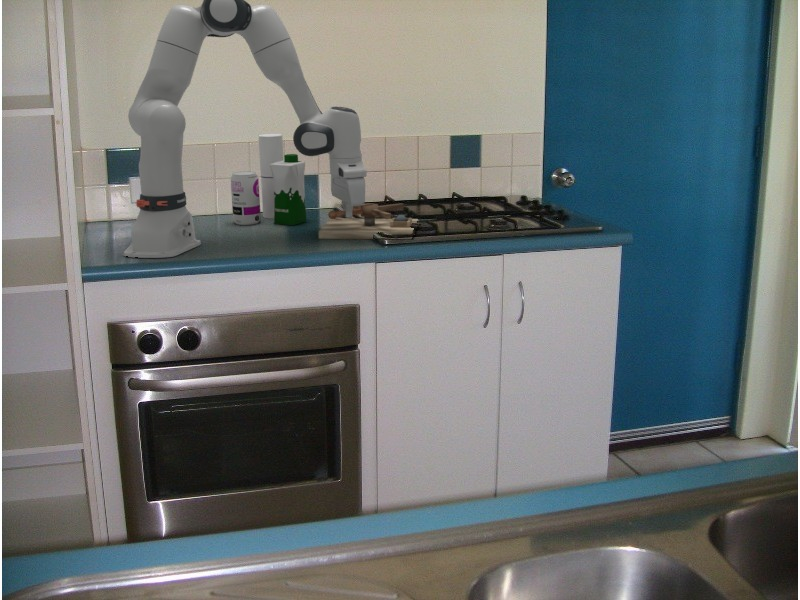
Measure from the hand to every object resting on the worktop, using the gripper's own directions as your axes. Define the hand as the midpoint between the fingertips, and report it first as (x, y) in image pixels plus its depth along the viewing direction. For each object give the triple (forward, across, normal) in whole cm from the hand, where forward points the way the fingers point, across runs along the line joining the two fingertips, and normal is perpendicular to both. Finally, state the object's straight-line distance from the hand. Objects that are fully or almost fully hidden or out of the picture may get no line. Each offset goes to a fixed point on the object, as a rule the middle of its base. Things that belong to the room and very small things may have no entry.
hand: (348, 217), depth 255 cm
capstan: (+1, -3, +6) cm, 7 cm away
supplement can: (+5, -31, -22) cm, 39 cm away
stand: (+6, -3, +7) cm, 10 cm away
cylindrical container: (+5, -37, -12) cm, 39 cm away
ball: (+2, +1, +15) cm, 16 cm away
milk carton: (+6, -26, -10) cm, 28 cm away
